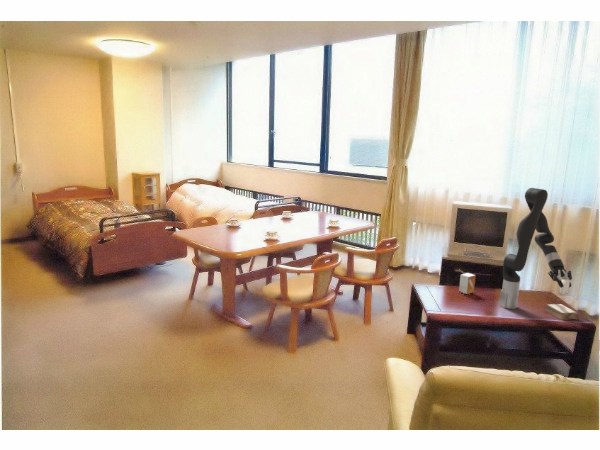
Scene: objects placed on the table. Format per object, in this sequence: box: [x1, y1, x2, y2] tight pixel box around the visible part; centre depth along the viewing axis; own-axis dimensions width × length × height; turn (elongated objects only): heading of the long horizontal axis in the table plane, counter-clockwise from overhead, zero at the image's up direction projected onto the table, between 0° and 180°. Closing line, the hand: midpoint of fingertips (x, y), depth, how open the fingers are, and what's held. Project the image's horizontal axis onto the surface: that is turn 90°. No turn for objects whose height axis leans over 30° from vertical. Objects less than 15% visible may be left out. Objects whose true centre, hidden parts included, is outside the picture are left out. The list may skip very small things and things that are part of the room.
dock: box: [544, 303, 579, 321], centre depth 256 cm, size 10×14×4 cm
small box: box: [458, 272, 477, 294], centre depth 290 cm, size 8×6×13 cm
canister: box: [559, 278, 571, 295], centre depth 253 cm, size 4×4×8 cm
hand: (565, 286), depth 252 cm, fingers closed on canister, 4 cm apart
